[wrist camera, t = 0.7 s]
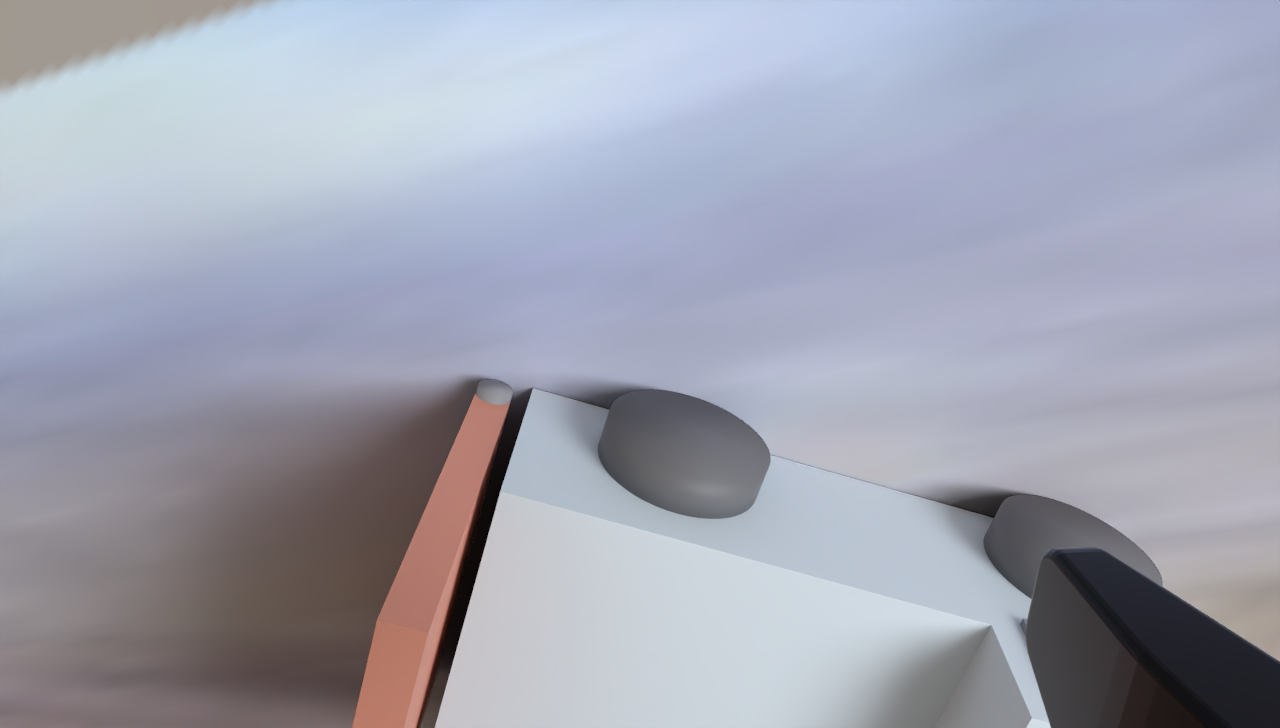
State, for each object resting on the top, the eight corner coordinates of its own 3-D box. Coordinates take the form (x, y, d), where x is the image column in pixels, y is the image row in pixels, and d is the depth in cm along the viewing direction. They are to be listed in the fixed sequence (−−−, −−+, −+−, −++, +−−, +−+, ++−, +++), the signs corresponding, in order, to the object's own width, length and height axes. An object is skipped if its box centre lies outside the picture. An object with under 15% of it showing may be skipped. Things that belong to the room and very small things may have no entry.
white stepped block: (1154, 528, 24) (1327, 753, 17) (966, 834, 28) (1049, 1103, 22) (542, 353, 23) (486, 527, 16) (445, 702, 27) (371, 946, 21)
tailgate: (515, 385, 23) (431, 623, 15) (436, 676, 26) (335, 986, 19) (481, 375, 23) (379, 610, 15) (407, 669, 26) (294, 977, 19)
